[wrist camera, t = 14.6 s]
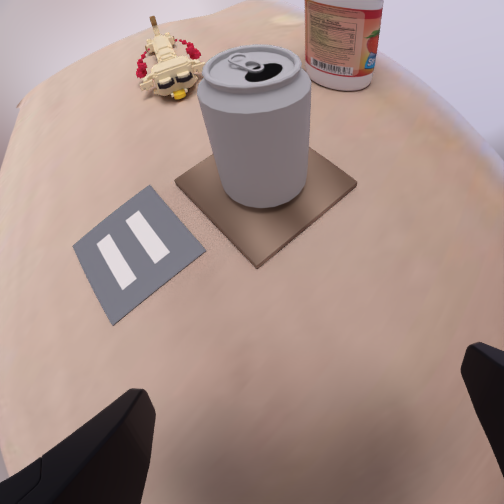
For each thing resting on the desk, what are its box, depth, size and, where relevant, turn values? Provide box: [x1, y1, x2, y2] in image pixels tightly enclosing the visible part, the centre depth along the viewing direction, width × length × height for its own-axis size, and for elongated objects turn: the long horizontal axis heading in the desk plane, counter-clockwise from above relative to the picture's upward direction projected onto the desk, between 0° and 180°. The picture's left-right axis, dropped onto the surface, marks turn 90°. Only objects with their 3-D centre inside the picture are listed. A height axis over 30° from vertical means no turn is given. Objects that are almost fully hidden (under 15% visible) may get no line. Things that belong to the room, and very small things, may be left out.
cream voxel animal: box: [136, 16, 205, 99], centre depth 37 cm, size 10×9×25 cm
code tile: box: [73, 185, 206, 326], centre depth 25 cm, size 10×10×1 cm
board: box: [174, 147, 357, 269], centre depth 27 cm, size 12×12×1 cm
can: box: [197, 45, 311, 208], centre depth 21 cm, size 8×8×12 cm
